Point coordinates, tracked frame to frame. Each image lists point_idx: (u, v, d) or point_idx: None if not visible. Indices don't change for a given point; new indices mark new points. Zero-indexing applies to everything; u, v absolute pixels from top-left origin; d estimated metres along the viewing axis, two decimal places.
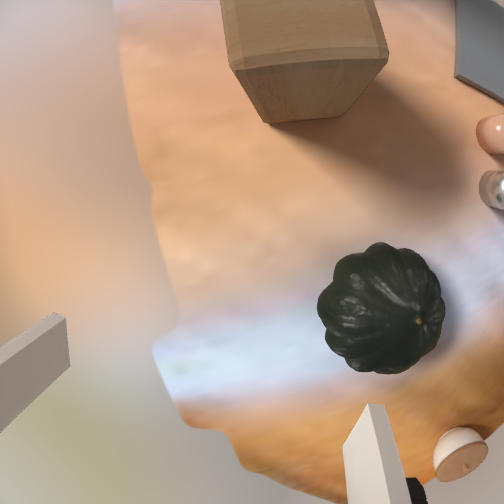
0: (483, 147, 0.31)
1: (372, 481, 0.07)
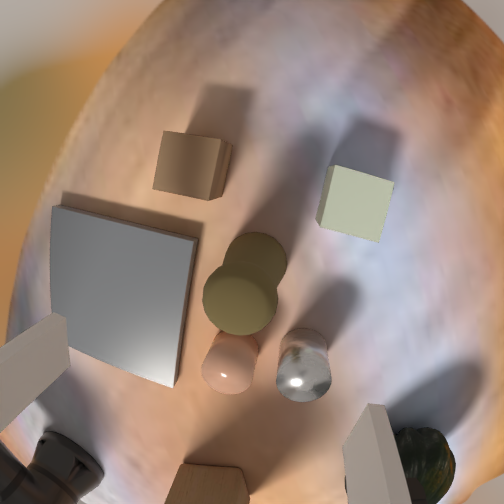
0: None
1: (372, 481, 0.07)
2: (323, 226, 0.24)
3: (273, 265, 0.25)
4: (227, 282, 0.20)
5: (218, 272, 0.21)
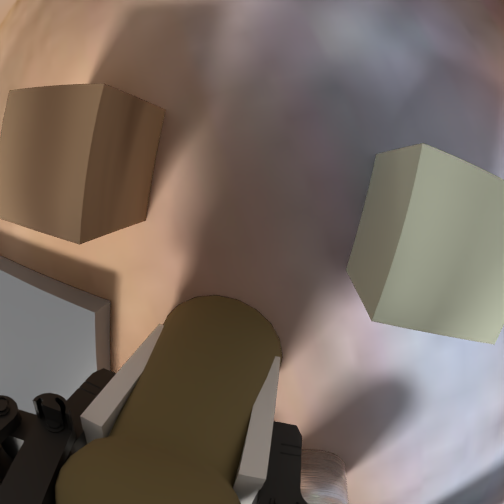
0: None
1: None
2: (381, 319, 0.08)
3: (246, 402, 0.09)
4: None
5: (67, 482, 0.05)
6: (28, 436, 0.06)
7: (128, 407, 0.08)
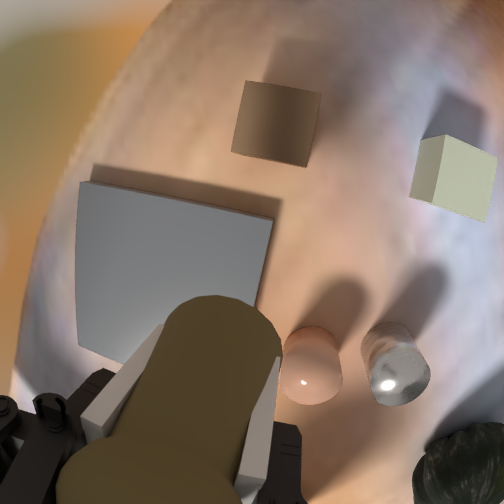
0: None
1: None
2: (435, 202, 0.19)
3: (247, 402, 0.09)
4: None
5: (68, 482, 0.05)
6: (28, 436, 0.06)
7: (129, 407, 0.08)
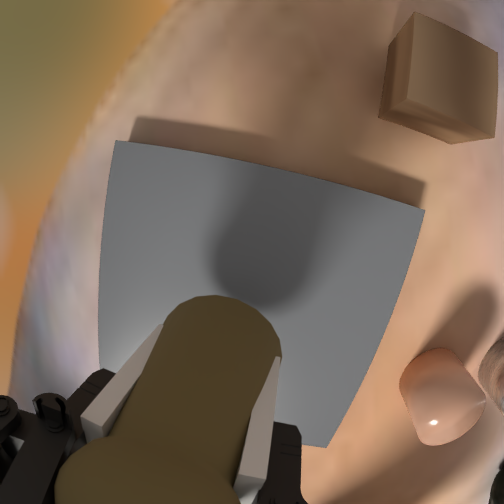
0: None
1: None
2: None
3: (246, 402, 0.09)
4: None
5: (66, 482, 0.05)
6: (28, 436, 0.06)
7: (128, 407, 0.08)
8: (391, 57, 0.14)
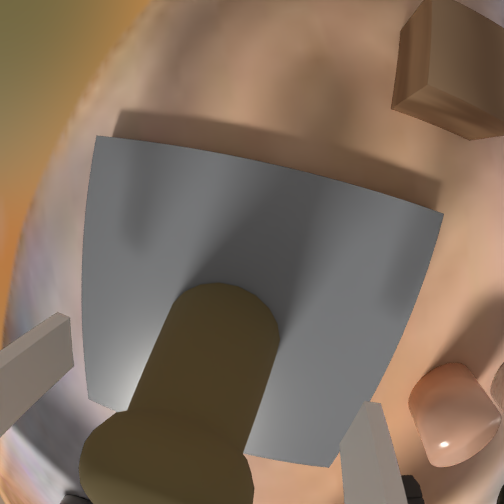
0: None
1: (368, 478, 0.08)
2: None
3: (250, 377, 0.11)
4: (113, 488, 0.05)
5: (94, 451, 0.06)
6: None
7: (144, 384, 0.09)
8: (404, 42, 0.12)
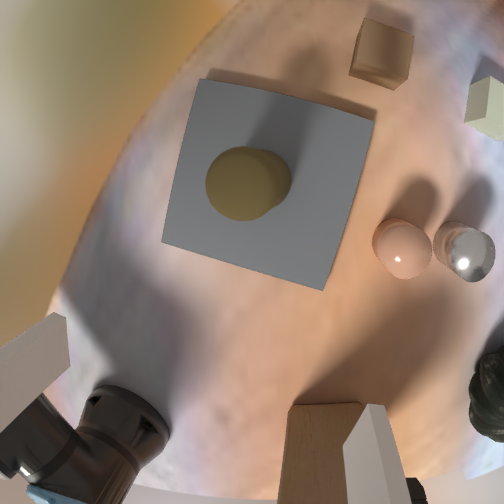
0: None
1: (372, 481, 0.07)
2: (487, 117, 0.22)
3: (278, 168, 0.25)
4: (231, 158, 0.20)
5: (223, 152, 0.20)
6: None
7: None
8: (356, 42, 0.25)
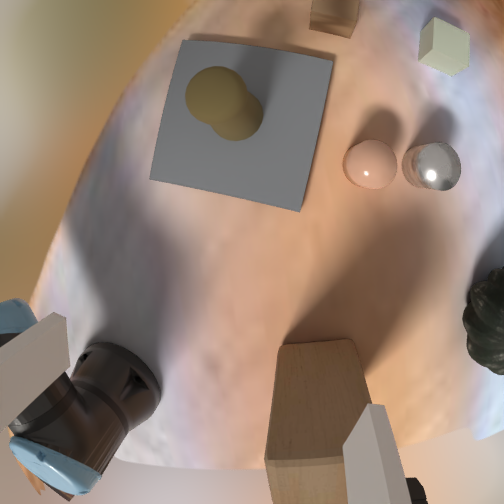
0: None
1: (372, 481, 0.07)
2: (434, 48, 0.24)
3: (248, 93, 0.27)
4: (205, 72, 0.22)
5: (199, 71, 0.23)
6: None
7: None
8: None
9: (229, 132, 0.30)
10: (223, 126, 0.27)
